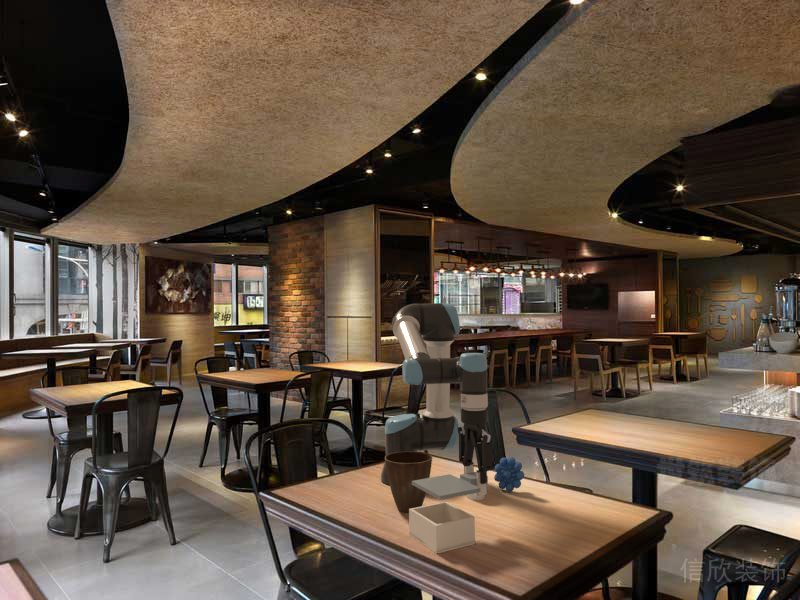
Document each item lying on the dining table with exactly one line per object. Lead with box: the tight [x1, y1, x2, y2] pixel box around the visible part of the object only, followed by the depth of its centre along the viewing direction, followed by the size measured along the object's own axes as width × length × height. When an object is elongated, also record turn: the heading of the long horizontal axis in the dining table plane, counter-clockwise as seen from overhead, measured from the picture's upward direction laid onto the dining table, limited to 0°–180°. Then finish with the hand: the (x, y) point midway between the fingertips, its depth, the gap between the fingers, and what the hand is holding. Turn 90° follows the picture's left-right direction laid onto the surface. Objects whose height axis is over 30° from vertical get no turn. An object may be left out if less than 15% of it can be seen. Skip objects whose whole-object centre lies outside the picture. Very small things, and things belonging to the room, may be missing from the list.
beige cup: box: [466, 493, 485, 501], centre depth 181 cm, size 7×7×7 cm
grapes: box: [493, 456, 525, 493], centre depth 187 cm, size 12×7×12 cm, turn 47°
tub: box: [408, 501, 476, 555], centre depth 147 cm, size 14×12×7 cm
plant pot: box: [384, 451, 433, 513], centre depth 171 cm, size 15×15×16 cm
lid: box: [412, 471, 489, 501], centre depth 150 cm, size 15×19×4 cm
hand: (475, 491), depth 153 cm, fingers closed on lid, 5 cm apart
